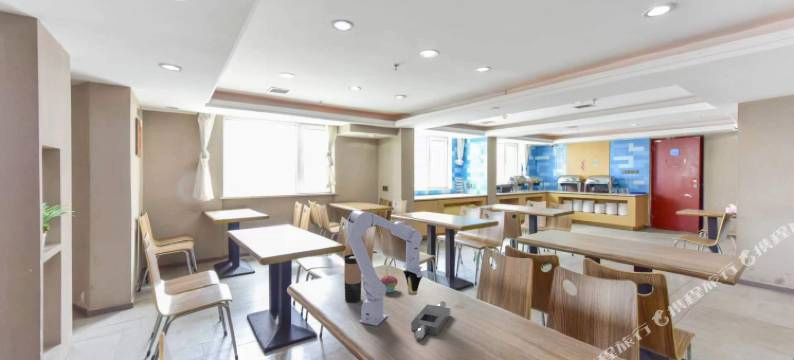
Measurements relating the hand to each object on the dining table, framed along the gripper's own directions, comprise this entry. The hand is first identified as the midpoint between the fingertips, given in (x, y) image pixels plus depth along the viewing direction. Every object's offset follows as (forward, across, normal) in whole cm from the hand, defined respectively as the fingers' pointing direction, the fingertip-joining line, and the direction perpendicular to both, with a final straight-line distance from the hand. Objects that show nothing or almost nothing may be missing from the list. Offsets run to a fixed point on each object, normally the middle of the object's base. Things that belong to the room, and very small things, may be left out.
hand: (412, 289), depth 143 cm
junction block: (+9, -14, -2) cm, 16 cm away
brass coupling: (+2, 0, 0) cm, 2 cm away
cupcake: (+9, +24, +2) cm, 26 cm away
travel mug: (+9, +20, +21) cm, 30 cm away
